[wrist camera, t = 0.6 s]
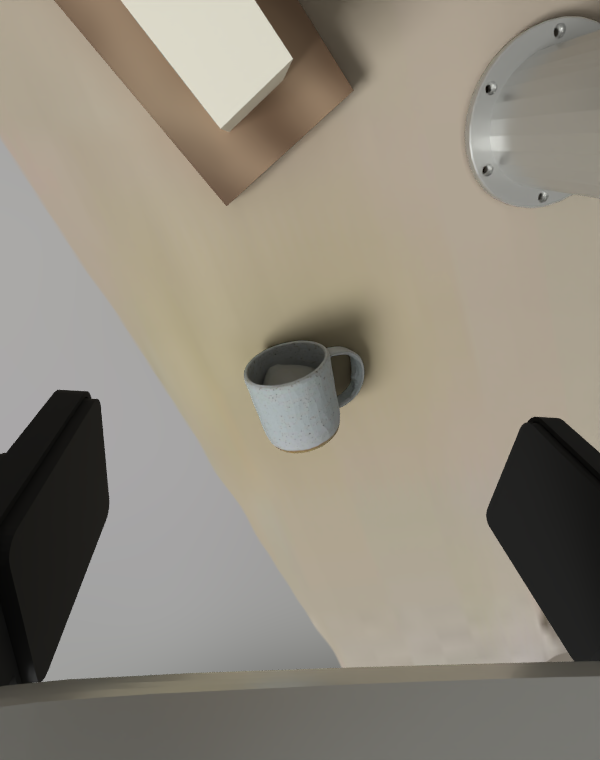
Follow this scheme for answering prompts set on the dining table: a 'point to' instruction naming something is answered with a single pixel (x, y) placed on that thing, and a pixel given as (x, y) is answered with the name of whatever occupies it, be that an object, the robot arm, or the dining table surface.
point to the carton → (217, 51)
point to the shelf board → (186, 114)
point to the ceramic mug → (300, 393)
